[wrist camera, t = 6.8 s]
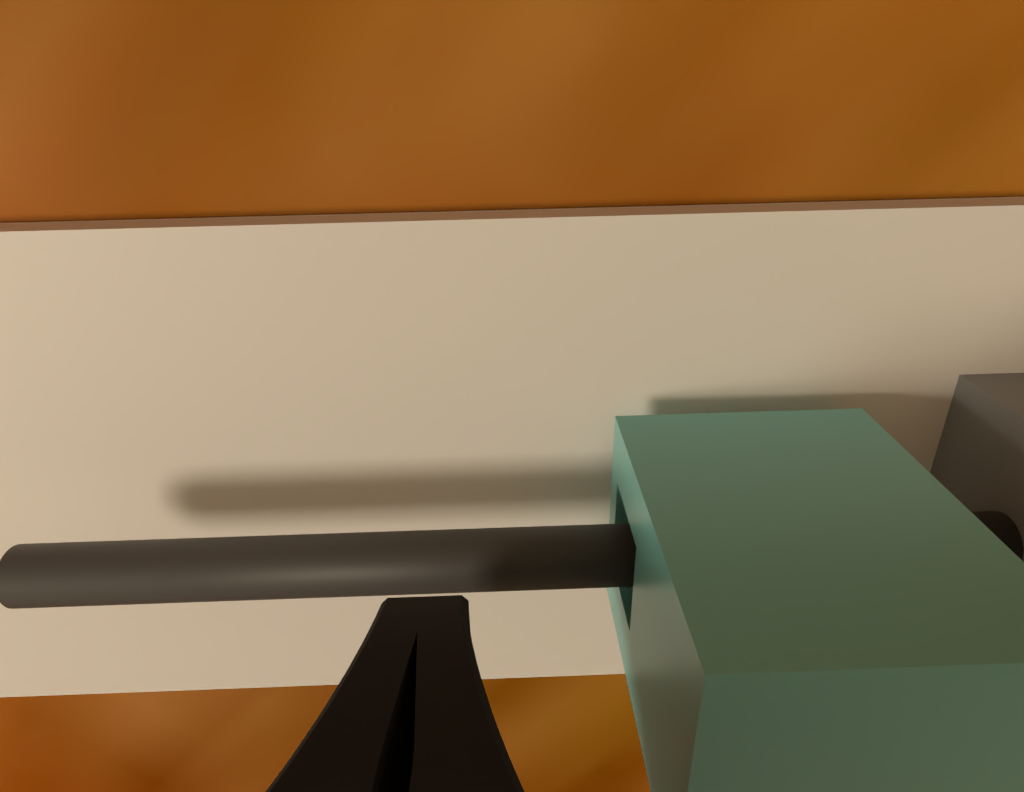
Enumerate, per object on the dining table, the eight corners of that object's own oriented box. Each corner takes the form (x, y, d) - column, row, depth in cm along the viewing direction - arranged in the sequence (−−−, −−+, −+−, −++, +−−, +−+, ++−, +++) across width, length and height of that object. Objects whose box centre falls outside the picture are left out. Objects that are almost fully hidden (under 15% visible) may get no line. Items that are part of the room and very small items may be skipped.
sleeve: (822, 577, 16) (1011, 874, 10) (605, 584, 16) (672, 890, 10) (862, 408, 14) (1125, 659, 8) (615, 415, 14) (704, 675, 8)
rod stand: (1035, 634, 19) (1292, 907, 13) (16, 672, 19) (-214, 973, 12) (1230, 191, 14) (1822, 301, 8) (-197, 227, 13) (-784, 376, 7)
